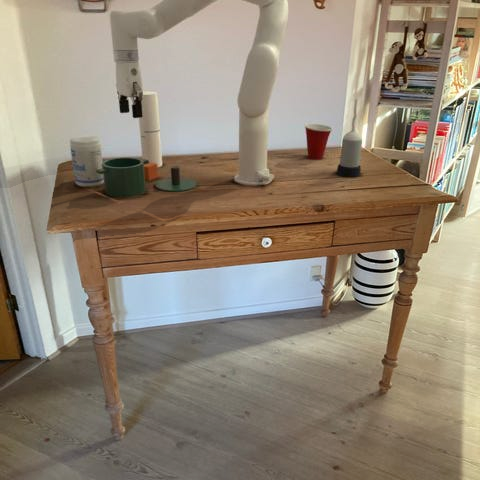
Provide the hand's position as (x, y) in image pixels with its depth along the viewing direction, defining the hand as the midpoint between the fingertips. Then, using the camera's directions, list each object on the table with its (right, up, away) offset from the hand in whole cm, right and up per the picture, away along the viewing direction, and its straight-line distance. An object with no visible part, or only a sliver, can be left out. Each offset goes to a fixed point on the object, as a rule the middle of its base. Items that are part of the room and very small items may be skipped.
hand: (131, 115), depth 170 cm
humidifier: (+74, -15, +17) cm, 78 cm away
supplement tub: (-15, -21, +5) cm, 26 cm away
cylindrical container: (+3, -9, +25) cm, 27 cm away
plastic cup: (+66, -3, +36) cm, 75 cm away
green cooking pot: (-1, -26, -2) cm, 26 cm away
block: (+4, -18, +10) cm, 21 cm away
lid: (+14, -22, +2) cm, 27 cm away
